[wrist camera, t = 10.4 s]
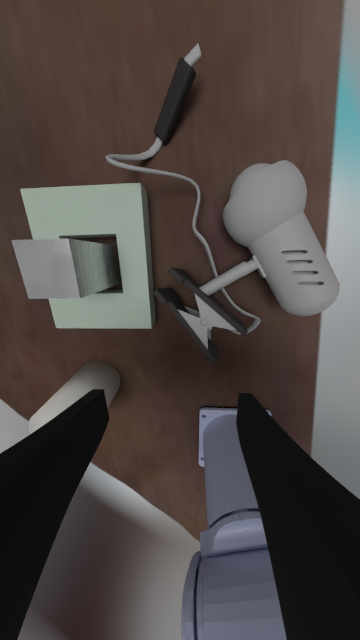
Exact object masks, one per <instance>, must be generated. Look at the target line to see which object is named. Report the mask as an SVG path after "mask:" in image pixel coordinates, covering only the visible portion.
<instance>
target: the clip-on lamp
mask: <svg viewBox="0 0 360 640" xmlns="http://www.w3.org/2000/svg"><path fill="white" fill-rule="evenodd" d="M200 57H201V52H200V48H199V45H198V44H197V45H196V46H195V47H194V48H193V49H192V50H191V52H190V53H189V54H188V55H187V56H186V57H185V59H183V58H180V59H179V62H178V65H177V67H176V70H175V73H174V76H173V79H172V82H171V84H170V87H169V90H168V93H167V96H166V99H165V102H164V104H163V107H162V110H161V113H160V116H159V119H158V121H157V124H156V127H155V130H154V133H155V134H156V135H157V139H156V141H155V143H154V144H153V146H152V147H151V148H150V149H149V150H148V151H146V152H143V153H141V154H134V155H119V154H109V155H107V156H106V160H107V161H108V162H109V163H111V164H113V165H115V166H117V167H121V168H125V169H129V170H134V171H140V172H146V173H153V174H160V175H166V176H171V177H176V178H180V179H183V180H186V181H188V182H190V183H191V184H192V185H194V186H195V188H196V190H197V194H198V197H197V204H196V209H195V213H194V217H193V224H192V226H193V232H194V234H195V235H196V236H197V237H198V239H199V240H200V241H201V242H202V243H203V245H204V247H205V249H206V251H207V255H208V258H209V261H210V264H211V268H212V270H213V273H214V276H215V279H213V280H211V281H210V282H208V283H206V284H205V285H203V286H201V287H200V286H199V285H198V284H197V283H196V282H195V281H194V279H193V278H192V277H191V276H190V275H188V274H187V273H186V272H185V271H184V270H180V269H177V268H174V267H171V268H170V270H169V271H168V272H169V273H170V274H171V275H172V276H173V277H174V278H175V279H176V280H177V281H179V282H180V283H183V284H184V285H185V286H187V287H188V288H189V289H190V290H191V291H192V292H193V293H194V294H195V297H196V301H197V305H198V308H199V311H197V310H194V309H191V308H189V307H186V306H184V304H183V303H182V302H181V300H180V298H181V297H180V296H179V294H178V293H177V292H176V291H175V290H174V289H173V288H157V289H156V290H155V291H154V292H153V293H154V295H155V296H156V297H157V298H158V300H159V301H160V302H161V303H162V304H163V305H165V304H167V305H168V306H169V308H170V309H171V310H172V311H173V313H174V314H175V315H176V317H177V318H178V319H179V321H180V322H181V323H182V325H183V326H184V327H185V329H186V330H187V331H188V333H189V334H190V335H191V336H192V338H193V339H194V340H195V342H196V343H197V344H198V346H199V347H200V348H201V350H202V351H203V352H204V354H205V355H206V356H207V357H208V359H209V360H210V361H211V362H213V363H215V362H216V361H217V360H219V351H218V349H217V348H216V346H215V345H214V344H213V342H212V341H211V329H212V328H213V326H214V327H219V328H225V329H228V330H230V331H232V332H233V333H236V334H241V335H243V336H244V335H245V334H247V333H249V332H251V331H252V330H253V329H255V328H256V327H257V326H258V325H259V323H260V319H259V318H258V317H257V316H255V315H252V314H250V313H247V312H245V311H243V310H242V309H240V308H239V307H238V306H237V305H236V304H235V303H234V302H233V301H232V300H231V298H230V297H229V295H228V294H227V292H226V291H225V289H224V287H225V286H227V285H229V284H230V283H232V282H234V281H236V280H237V279H239V278H241V277H243V276H245V275H247V274H249V273H251V272H252V271H254V270H256V269H257V270H258V272H259V273H260V275H261V277H262V278H265V279H266V281H267V282H268V284H269V286H270V288H271V290H272V291H273V293H274V295H275V297H276V299H277V301H278V302H279V304H280V306H281V308H282V309H283V310H285V311H286V312H288V313H290V314H293V315H298V316H309V315H314V314H317V313H320V312H322V311H324V310H325V309H327V308H328V307H329V306H330V305H331V304H332V303H333V302H334V301H335V299H336V298H337V296H338V293H339V282H338V280H337V278H336V276H335V274H334V272H333V270H332V268H331V266H330V264H329V262H328V260H327V258H326V256H325V254H324V252H323V250H322V248H321V246H320V244H319V242H318V240H317V238H316V236H315V234H314V232H313V230H312V228H311V226H310V224H309V222H308V220H307V218H306V216H305V214H304V212H303V211H304V208H305V205H306V199H307V189H306V183H305V180H304V178H303V176H302V174H301V173H300V171H299V170H298V168H297V167H296V166H295V165H293V164H292V163H291V162H289V161H287V160H284V161H279V162H277V163H275V164H272V165H270V164H267V163H260V164H255V165H252V166H250V167H248V168H247V169H245V170H244V171H243V172H242V173H241V174H240V175H239V176H238V177H237V179H236V180H235V182H234V184H233V186H232V188H231V192H230V199H229V202H228V203H227V205H226V207H225V208H224V211H223V221H224V225H225V228H226V230H227V232H228V233H229V235H230V236H231V237H232V238H233V239H234V240H235V241H236V242H237V243H239V244H240V245H242V246H245V247H248V248H249V250H250V252H251V254H252V255H253V257H252V258H251V259H252V260H250V261H248V262H245V261H244V262H242V263H240V264H239V265H237V266H235V267H233V268H232V269H230V270H228V271H227V272H225V273H223V274H222V275H220V276H218V274H217V271H216V268H215V265H214V261H213V258H212V255H211V251H210V248H209V246H208V244H207V242H206V240H205V239H204V238H203V236H202V235H201V234H200V233H199V232H198V231H197V229H196V221H197V216H198V212H199V207H200V199H201V193H200V190H199V186H198V185H197V184H196V183H195V182H194V181H193V180H192V179H189V178H187V177H185V176H183V175H179V174H175V173H171V172H167V171H161V170H155V169H149V168H143V167H138V166H132V165H128V164H124V163H121V162H118V161H116V160H125V161H138V160H146V159H148V158H150V157H153V156H154V155H155V154H156V153H157V152H158V151H159V149H160V148H161V145H162V143H163V142H164V143H168V142H169V140H170V137H171V135H172V132H173V130H174V127H175V125H176V123H177V120H178V118H179V115H180V113H181V110H182V108H183V106H184V103H185V101H186V98H187V96H188V93H189V91H190V89H191V86H192V84H193V81H194V79H195V76H196V72H195V70H194V68H193V67H192V66H193V65H194V64H195V63H196V62H197V61H198V60H199V58H200ZM220 289H221V290H222V292H223V294H224V295H225V297H226V298H227V300H228V301H229V303H230V304H231V305H232V306H233V307H234V308H235V309H236V310H237V311H239V312H240V313H242V314H244V315H246V316H250V317H253V318H255V321H254V323H253V324H252V325H251V326H250V327H249V328H246V327H245V326H244V324H243V323H242V322H241V321H240V320H238V319H237V318H236V317H235V316H234V315H233V314H231V313H230V312H229V311H228V310H227V309H226V308H225V307H223V306H222V305H221V304H220V303H219V302H218V301H216V300H215V299H214V298H213V297H212V296H211V294H213V293H214V292H216V291H218V290H220Z"/></svg>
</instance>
